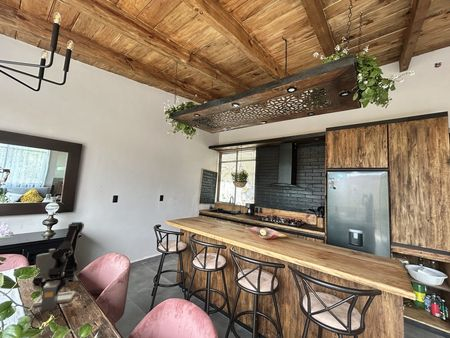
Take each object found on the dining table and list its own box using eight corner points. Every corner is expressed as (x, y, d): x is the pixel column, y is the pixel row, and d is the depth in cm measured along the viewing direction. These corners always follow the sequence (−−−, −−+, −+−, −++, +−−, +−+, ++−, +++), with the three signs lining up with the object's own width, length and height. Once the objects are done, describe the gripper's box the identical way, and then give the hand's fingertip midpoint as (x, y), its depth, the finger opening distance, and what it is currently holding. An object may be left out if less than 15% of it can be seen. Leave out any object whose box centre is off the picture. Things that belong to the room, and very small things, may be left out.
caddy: (44, 305, 112) (47, 282, 113) (56, 303, 114) (59, 281, 115) (40, 311, 107) (43, 286, 108) (53, 309, 109) (56, 285, 110)
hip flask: (33, 283, 134) (37, 252, 136) (32, 280, 137) (36, 250, 139) (63, 276, 146) (66, 247, 148) (62, 274, 149) (65, 246, 150)
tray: (40, 298, 118) (40, 295, 118) (74, 293, 125) (75, 290, 125) (33, 306, 110) (33, 303, 110) (70, 301, 117) (70, 298, 117)
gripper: (36, 262, 112) (23, 293, 101) (76, 259, 120) (68, 287, 109) (40, 271, 119) (28, 301, 108) (78, 267, 126) (70, 295, 115)
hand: (49, 296), depth 110 cm, fingers closed on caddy, 5 cm apart
